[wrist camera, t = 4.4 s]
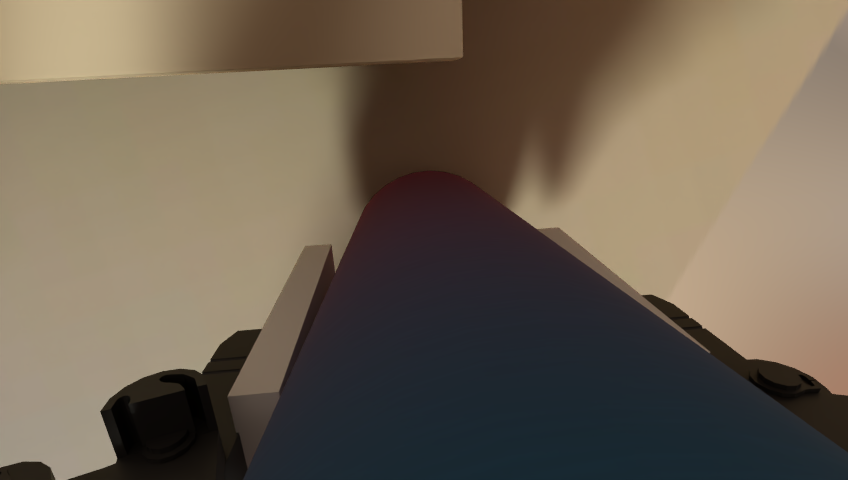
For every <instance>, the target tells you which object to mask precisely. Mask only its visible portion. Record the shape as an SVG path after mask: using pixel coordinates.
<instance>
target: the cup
mask: <svg viewBox="0 0 848 480" xmlns="http://www.w3.org/2000/svg"><path fill="white" fill-rule="evenodd" d="M243 480H848V452H846V451H845V450H844V449H842V448H841V447H839V446H838V445H837V444H835V443H834V442H832V441H831V440H830V439H828V438H827V437H825V436H824V435H823V434H821V433H820V432H819V431H817V430H816V429H814V428H813V427H812V426H810V425H809V424H807V423H806V422H805V421H803V420H802V419H800V418H799V417H798V416H796V415H795V414H793V413H792V412H791V411H789V410H788V409H786V408H785V407H784V406H782V405H781V404H780V403H778V402H777V401H775V400H774V399H773V398H771V397H770V396H768V395H767V394H766V393H764V392H763V391H761V390H760V389H759V388H757V387H756V386H754V385H753V384H752V383H750V382H749V381H747V380H746V379H745V378H743V377H742V376H740V375H739V374H738V373H736V372H735V371H734V370H732V369H731V368H729V367H728V366H727V365H725V364H724V363H722V362H721V361H720V360H718V359H717V358H715V357H714V356H713V355H711V354H710V353H708V352H707V351H706V350H704V349H703V348H701V347H700V346H699V345H697V344H696V343H695V342H693V341H692V340H690V339H689V338H688V337H686V336H685V335H683V334H682V333H681V332H679V331H678V330H676V329H675V328H674V327H672V326H671V325H669V324H668V323H667V322H665V321H664V320H662V319H661V318H660V317H658V316H657V315H655V314H654V313H653V312H651V311H650V310H649V309H647V308H646V307H644V306H643V305H642V304H640V303H639V302H637V301H636V300H635V299H633V298H632V297H630V296H629V295H628V294H626V293H625V292H623V291H622V290H621V289H619V288H618V287H616V286H615V285H614V284H612V283H611V282H610V281H608V280H607V279H605V278H604V277H603V276H601V275H600V274H598V273H597V272H596V271H594V270H593V269H591V268H590V267H589V266H587V265H586V264H584V263H583V262H582V261H580V260H579V259H577V258H576V257H575V256H573V255H572V254H570V253H569V252H568V251H566V250H565V249H564V248H562V247H561V246H559V245H558V244H557V243H555V242H554V241H552V240H551V239H550V238H548V237H547V236H545V235H544V234H543V233H541V232H540V231H538V230H537V229H536V228H534V227H533V226H531V225H530V224H529V223H527V222H526V221H525V220H523V219H522V218H520V217H519V216H518V215H516V214H515V213H513V212H512V211H511V210H509V209H508V208H506V207H505V206H504V205H502V204H501V203H499V202H498V201H497V200H495V199H494V198H492V197H491V196H490V195H488V194H487V193H485V192H484V191H483V190H481V189H480V188H479V187H477V186H476V185H474V184H473V183H472V182H470V181H468V180H466V179H464V178H462V177H460V176H457V175H454V174H450V173H446V172H439V171H423V172H415V173H411V174H408V175H405V176H402V177H399V178H397V179H396V180H394V181H392V182H390V183H389V184H387V185H385V186H384V187H383V188H382V189H381V190H380V191H378V192H377V193H376V194H375V195H374V196H373V198H372V199H371V200H370V201H369V203H368V204H367V205H366V207H365V209H364V211H363V213H362V215H361V217H360V219H359V221H358V223H357V226H356V228H355V230H354V232H353V235H352V237H351V239H350V241H349V244H348V246H347V248H346V250H345V253H344V255H343V257H342V259H341V261H340V264H339V266H338V268H337V270H336V273H335V275H334V277H333V279H332V282H331V284H330V286H329V288H328V291H327V293H326V295H325V297H324V300H323V302H322V304H321V306H320V308H319V311H318V313H317V315H316V317H315V320H314V322H313V324H312V326H311V329H310V331H309V333H308V335H307V338H306V340H305V342H304V344H303V346H302V349H301V351H300V353H299V355H298V358H297V360H296V362H295V364H294V367H293V369H292V371H291V373H290V376H289V378H288V380H287V382H286V384H285V387H284V389H283V391H282V393H281V396H280V398H279V400H278V402H277V405H276V407H275V409H274V411H273V414H272V416H271V418H270V420H269V422H268V425H267V427H266V429H265V431H264V434H263V436H262V438H261V440H260V443H259V445H258V447H257V449H256V452H255V454H254V456H253V458H252V461H251V463H250V465H249V467H248V469H247V472H246V474H245V476H244V478H243Z"/></svg>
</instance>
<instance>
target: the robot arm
mask: <svg viewBox="0 0 848 480" xmlns="http://www.w3.org/2000/svg"><path fill="white" fill-rule="evenodd" d="M537 230H538V231H540V232H541V233H543V234H544V235H545V236H547V237H548V238H550V239H551V240H552V241H554V242H555V243H557V244H558V245H559V246H561V247H562V248H564V249H565V250H566V251H568V252H569V253H570V254H572V255H573V256H575V257H576V258H577V259H579V260H580V261H582V262H583V263H584V264H586V265H587V266H589V267H590V268H591V269H593V270H594V271H596V272H597V273H598V274H600V275H601V276H603V277H604V278H605V279H607V280H608V281H610V282H611V283H612V284H614V285H615V286H616V287H618V288H619V289H621V290H622V291H623V292H625V293H626V294H628V295H629V296H630V297H632V298H633V299H635V300H636V301H637V302H639V303H640V304H642V305H643V306H644V307H646V308H647V309H649V310H650V311H651V312H653V313H654V314H655V315H657V316H658V317H660V318H661V319H662V320H664V321H665V322H667V323H668V324H669V325H671V326H672V327H674V328H675V329H676V330H678V331H679V332H681V333H682V334H683V335H685V336H686V337H688V338H689V339H690V340H692V341H693V342H695V343H696V344H697V345H699V346H700V347H701V348H703V349H704V350H706V351H707V352H708V353H710V354H711V355H713V356H714V357H715V358H717V359H718V360H720V361H721V362H722V363H724V364H725V365H727V366H728V367H729V368H731V369H732V370H734V371H735V372H736V373H738V374H739V375H740V376H742V377H743V378H745V379H746V380H747V381H749V382H750V383H752V384H753V385H754V386H756V387H757V388H759V389H760V390H761V391H763V392H764V393H766V394H767V395H768V396H770V397H771V398H773V399H774V400H775V401H777V402H778V403H780V404H781V405H782V406H784V407H785V408H786V409H788V410H789V411H791V412H792V413H793V414H795V415H796V416H798V417H799V418H800V419H802V420H803V421H805V422H806V423H807V424H809V425H810V426H812V427H813V428H814V429H816V430H817V431H819V432H820V433H821V434H823V435H824V436H825V437H827V438H828V439H830V440H831V441H832V442H834V443H835V444H837V445H838V446H839V447H841V448H842V449H844V450H845V451H846V452H848V396H845V395H836V394H832V393H831V392H830V391H829V390H828V389H827V388H826V387H825V386H823V385H822V384H821V383H819V382H818V381H817V380H816V379H814V378H813V377H811V376H809V375H807V374H805V373H803V372H801V371H799V370H797V369H795V368H792V367H789V366H786V365H782V364H779V363H776V362H770V361H764V360H758V359H754V360H746V359H745V358H744V357H742V356H741V355H740V354H738V353H737V352H736V351H734V350H733V349H732V348H731V347H729V346H728V345H727V344H725V343H724V342H723V341H721V340H720V339H719V338H717V337H716V336H715V335H713V334H712V333H711V332H709V331H708V330H707V329H703V328H702V326H701V325H700V324H699V323H698V322H696V321H695V320H693V319H692V318H689V316H688V315H687V314H686V313H684V312H683V311H682V310H680V309H679V308H677V307H676V306H675V305H674V304H672V303H670V302H667V301H665V300H663V299H660V298H658V297H656V296H654V295H640V294H639V293H638V292H637V291H635V290H634V289H633V288H632V287H630V286H629V285H628V284H627V283H626V282H624V281H623V280H622V279H621V278H619V277H618V276H617V275H616V274H615V273H613V272H612V271H611V270H610V269H609V268H607V267H606V266H605V265H604V264H602V263H601V262H600V261H599V260H598V259H596V258H595V257H594V256H593V255H591V254H590V253H589V252H588V251H587V250H585V249H584V248H583V247H582V246H580V245H579V244H578V243H577V242H576V241H574V240H573V239H572V238H571V237H569V236H568V235H567V234H566V233H565V232H563V231H562V230H561V229H560V228H546V229H537ZM334 275H335V269H334V261H333V253H332V246H331V244H329V245H316V246H305V247H304V249H303V251H302V253H301V255H300V257H299V259H298V261H297V263H296V265H295V267H294V269H293V271H292V272H291V274H290V276H289V278H288V280H287V282H286V284H285V286H284V288H283V290H282V292H281V294H280V296H279V298H278V300H277V301H276V303H275V305H274V307H273V309H272V311H271V313H270V315H269V317H268V319H267V321H266V323H265V325H264V327H263V329H255V330H244V331H237V332H236V333H235V334H233V335H232V336H231V337H229V338H228V339H227V340H225V341H224V342H223V343H221V344H220V346H219V347H218V349H217V350H216V352H215V353H214V355H213V356H212V358H211V362H209V363H208V364H207V366H206V367H205V369H204V370H203V372H202V374H201V373H199V372H197V371H195V370H188V369H176V370H169V371H162V372H159V373H156V374H153V375H150V376H147V377H144V378H142V379H140V380H138V381H136V382H134V383H132V384H130V385H128V386H126V387H124V388H123V389H122V390H121V391H119V392H118V393H117V394H115V395H114V396H113V397H111V398H110V399H109V400H108V402H107V403H106V404H105V406H104V407H103V409H102V410H101V411H100V412H101V415H102V418H103V420H104V423H105V426H106V429H107V431H108V434H109V437H110V439H111V442H112V445H113V448H114V450H115V453H116V456H117V462H116V464H113V465H110V466H108V467H105V468H102V469H99V470H96V471H93V472H90V473H87V474H84V475H80V476H77V477H74V478H71V479H68V480H243V478H244V476H245V474H246V472H247V469H248V467H249V465H250V463H251V461H252V458H253V456H254V454H255V452H256V449H257V447H258V445H259V443H260V440H261V438H262V436H263V434H264V431H265V429H266V427H267V425H268V422H269V420H270V418H271V416H272V414H273V411H274V409H275V407H276V405H277V402H278V400H279V398H280V396H281V393H282V391H283V389H284V387H285V384H286V382H287V380H288V378H289V376H290V373H291V371H292V369H293V367H294V364H295V362H296V360H297V358H298V355H299V353H300V351H301V349H302V346H303V344H304V342H305V340H306V338H307V335H308V333H309V331H310V329H311V326H312V324H313V322H314V320H315V317H316V315H317V313H318V311H319V308H320V306H321V304H322V302H323V300H324V297H325V295H326V293H327V291H328V288H329V286H330V284H331V282H332V279H333V277H334ZM0 480H55V478H54V475H53V473H52V471H51V468H50V467H48V466H47V465H45V464H43V463H42V462H21V463H17V464H13V465H9V466H5V467H1V468H0Z"/></svg>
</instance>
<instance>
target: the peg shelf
mask: <svg viewBox="0 0 848 480" xmlns="http://www.w3.org/2000/svg"><path fill="white" fill-rule="evenodd" d="M462 57H463V27H462V0H0V84H14V83H33V82H52V81H72V80H91V79H110V78H130V77H149V76H168V75H188V74H207V73H226V72H245V71H265V70H284V69H303V68H323V67H342V66H361V65H381V64H400V63H419V62H438V61H455V60H458V59H460V58H462Z"/></svg>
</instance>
